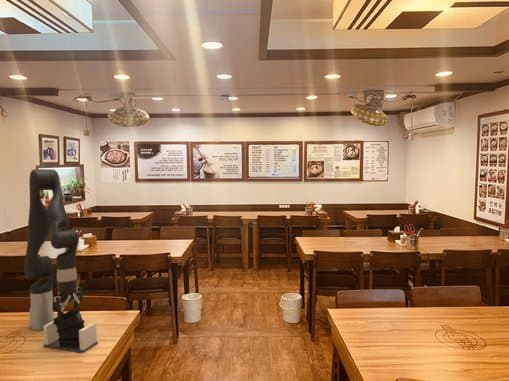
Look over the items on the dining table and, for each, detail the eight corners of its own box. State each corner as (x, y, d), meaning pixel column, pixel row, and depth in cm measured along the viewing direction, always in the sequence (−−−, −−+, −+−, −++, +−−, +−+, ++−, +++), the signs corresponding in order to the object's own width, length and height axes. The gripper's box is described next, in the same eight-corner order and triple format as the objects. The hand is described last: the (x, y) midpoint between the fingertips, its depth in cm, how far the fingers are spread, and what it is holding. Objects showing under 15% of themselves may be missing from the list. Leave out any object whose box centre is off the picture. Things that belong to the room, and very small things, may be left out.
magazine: (88, 342, 161) (72, 309, 161) (63, 353, 163) (47, 321, 163) (94, 338, 164) (78, 306, 164) (69, 349, 167) (54, 318, 167)
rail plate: (43, 347, 163) (43, 344, 163) (60, 337, 172) (60, 335, 172) (82, 353, 157) (82, 350, 157) (98, 343, 166) (97, 340, 166)
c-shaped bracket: (44, 344, 164) (43, 325, 163) (59, 336, 171) (58, 318, 171) (83, 350, 158) (82, 331, 157) (97, 341, 165) (96, 323, 165)
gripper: (72, 272, 170) (74, 308, 171) (46, 282, 157) (48, 321, 158) (86, 274, 168) (88, 310, 169) (61, 284, 154) (63, 324, 156)
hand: (68, 316), depth 164 cm, fingers open, 8 cm apart
